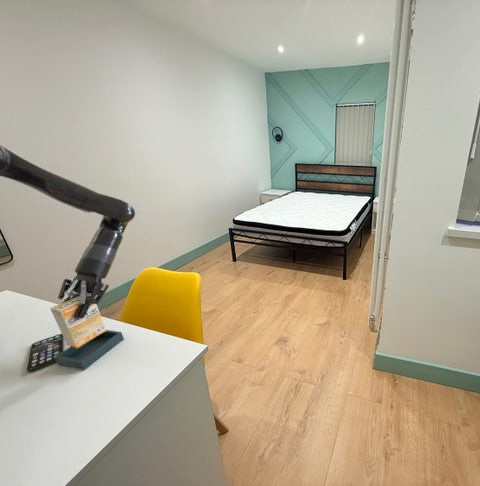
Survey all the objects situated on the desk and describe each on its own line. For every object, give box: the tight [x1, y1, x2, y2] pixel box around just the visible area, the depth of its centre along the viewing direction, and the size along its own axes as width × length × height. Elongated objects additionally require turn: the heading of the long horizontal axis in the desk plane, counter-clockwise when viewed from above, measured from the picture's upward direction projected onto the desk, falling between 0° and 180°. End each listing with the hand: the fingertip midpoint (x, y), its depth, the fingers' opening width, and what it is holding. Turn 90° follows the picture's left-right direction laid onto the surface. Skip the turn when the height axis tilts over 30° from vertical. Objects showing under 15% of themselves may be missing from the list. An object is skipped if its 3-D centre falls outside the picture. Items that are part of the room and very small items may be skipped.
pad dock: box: [54, 329, 125, 371], centre depth 80 cm, size 10×13×3 cm
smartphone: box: [26, 333, 64, 373], centre depth 80 cm, size 7×1×15 cm
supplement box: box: [49, 295, 107, 348], centre depth 77 cm, size 8×5×13 cm, turn 160°
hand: (70, 316), depth 74 cm, fingers closed on supplement box, 5 cm apart
